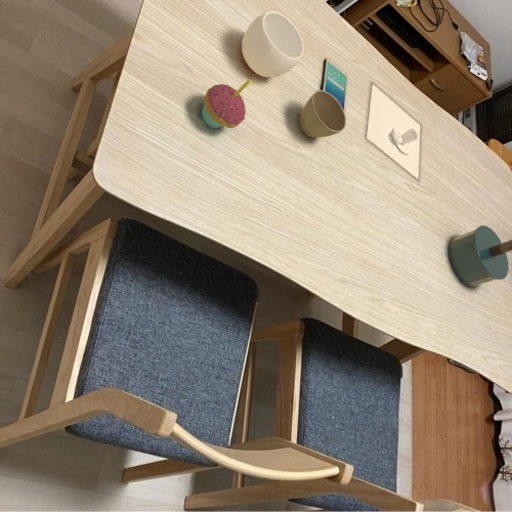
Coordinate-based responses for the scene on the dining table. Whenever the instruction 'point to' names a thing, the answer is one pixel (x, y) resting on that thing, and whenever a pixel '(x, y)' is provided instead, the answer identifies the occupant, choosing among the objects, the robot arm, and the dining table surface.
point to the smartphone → (335, 81)
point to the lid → (492, 252)
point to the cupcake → (224, 106)
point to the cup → (272, 45)
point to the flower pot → (322, 115)
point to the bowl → (467, 261)
